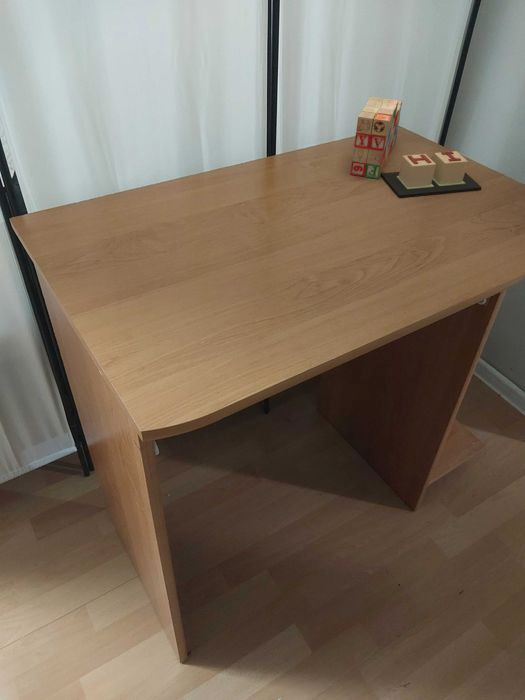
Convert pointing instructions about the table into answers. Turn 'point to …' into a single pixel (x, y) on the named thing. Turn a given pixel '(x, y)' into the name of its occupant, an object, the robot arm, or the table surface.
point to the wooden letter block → (449, 167)
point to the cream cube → (417, 170)
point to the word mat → (428, 186)
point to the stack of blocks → (375, 136)
